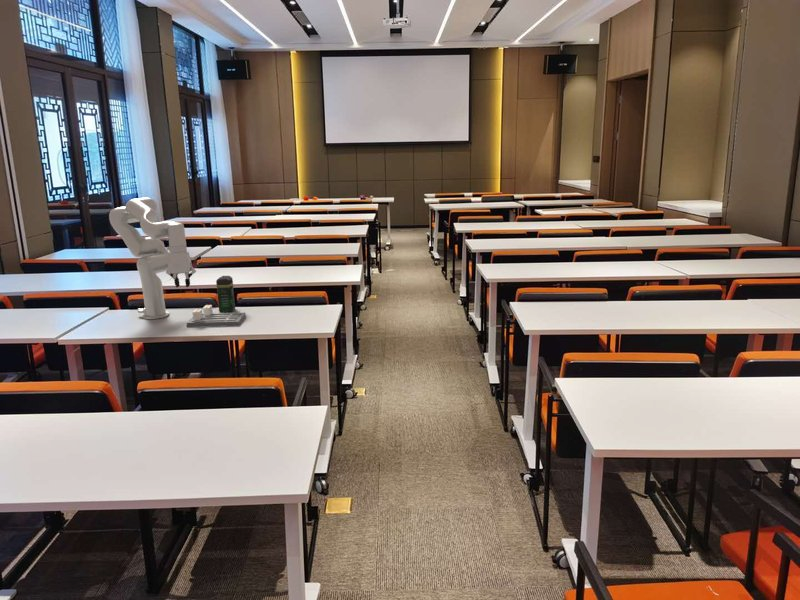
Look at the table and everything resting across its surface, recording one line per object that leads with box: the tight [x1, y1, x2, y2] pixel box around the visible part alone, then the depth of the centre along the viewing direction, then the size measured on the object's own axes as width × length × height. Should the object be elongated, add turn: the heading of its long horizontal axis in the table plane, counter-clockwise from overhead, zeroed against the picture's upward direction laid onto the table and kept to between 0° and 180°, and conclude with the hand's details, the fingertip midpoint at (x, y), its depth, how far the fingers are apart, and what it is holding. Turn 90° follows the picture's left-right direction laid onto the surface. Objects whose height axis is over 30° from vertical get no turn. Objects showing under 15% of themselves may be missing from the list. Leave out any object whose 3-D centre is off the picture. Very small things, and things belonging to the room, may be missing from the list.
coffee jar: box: [215, 275, 236, 313], centre depth 306 cm, size 10×8×19 cm
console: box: [185, 304, 247, 328], centre depth 290 cm, size 25×15×7 cm, turn 92°
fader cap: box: [192, 308, 203, 320], centre depth 286 cm, size 3×5×4 cm, turn 2°
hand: (182, 286), depth 282 cm, fingers open, 4 cm apart
